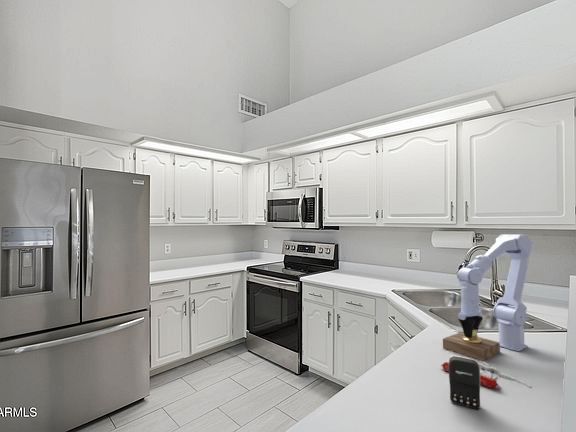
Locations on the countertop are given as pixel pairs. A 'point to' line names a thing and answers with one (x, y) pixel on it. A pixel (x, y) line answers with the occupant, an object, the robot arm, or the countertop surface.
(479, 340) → the pin
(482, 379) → the candy bar
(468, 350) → the hitch block
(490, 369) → the pliers
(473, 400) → the battery charger
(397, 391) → the countertop surface
